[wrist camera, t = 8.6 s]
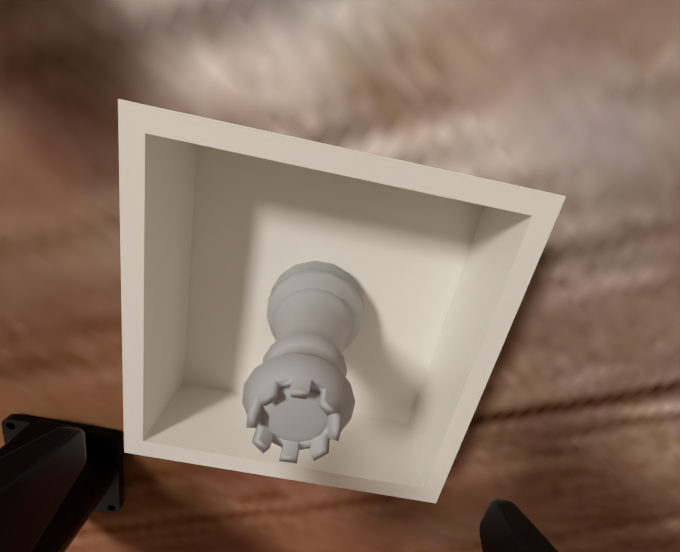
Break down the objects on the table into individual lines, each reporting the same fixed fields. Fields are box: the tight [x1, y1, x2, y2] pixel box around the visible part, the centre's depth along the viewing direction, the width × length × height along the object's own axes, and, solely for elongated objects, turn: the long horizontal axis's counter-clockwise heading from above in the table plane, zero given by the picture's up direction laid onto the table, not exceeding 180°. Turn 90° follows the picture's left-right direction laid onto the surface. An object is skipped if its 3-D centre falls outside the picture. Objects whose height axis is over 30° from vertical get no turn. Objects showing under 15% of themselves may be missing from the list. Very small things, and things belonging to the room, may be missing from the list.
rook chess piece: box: [242, 261, 364, 464], centre depth 13 cm, size 4×4×8 cm
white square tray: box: [118, 99, 566, 503], centre depth 15 cm, size 14×14×4 cm
